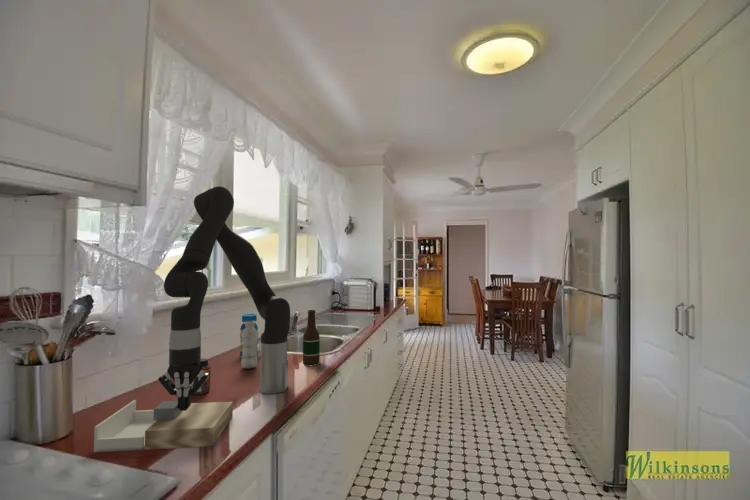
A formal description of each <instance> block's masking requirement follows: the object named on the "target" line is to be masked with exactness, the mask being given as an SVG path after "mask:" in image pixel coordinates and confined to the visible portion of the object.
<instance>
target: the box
mask: <svg viewBox="0 0 750 500" xmlns="http://www.w3.org/2000/svg"><path fill="white" fill-rule="evenodd" d="M153 420H154V409H146V410H143V409H140V410H137V399H133V400H132V401H131V402H129V403H127V404H126V405H124V406H123V407H122V408H120V409H119V410H117V411H115V413H112V414H111V415H110V416H109V417H107V418H106V419H104V420H102V421H101V422H100V423H98V424H97V425H95V426H94V435H93V437H94V438H93V440H94V441H93V453H104V452H106V453H108V452H121V451H124V452H125V451H142V450H145V431H146V430H147V429H148V428H149V427H150V426H151V425H152V424H154V423H155V422H156V421H153Z"/></svg>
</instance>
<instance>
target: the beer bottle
mask: <svg viewBox="0 0 750 500" xmlns="http://www.w3.org/2000/svg"><path fill="white" fill-rule="evenodd" d="M316 313H317V312H316V309H308V310H307V325H306V328H305V330H304V332H303V335H302V364H305V365H304V366H306V365H314V364H318V363H319V364H320V345H321V344H320V343H321V341H320V340H321V339H320V333H319V331H318V329H317V325H316ZM319 364H318V365H319Z"/></svg>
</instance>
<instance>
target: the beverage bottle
mask: <svg viewBox="0 0 750 500" xmlns="http://www.w3.org/2000/svg"><path fill="white" fill-rule="evenodd" d="M257 318H258V317H257V314H255V313H245V314H242V315H241V322H242V324H241V326H240V327H239V328H240V329H239V331H240V333H239V339H240V340H239V343H240V344H239V346H240V347H239V357H240V358H241V359H242V354H243V342H242V332H243V330H244V329H245V328H246V326H245V322H246V321H254V324H255V325H254V328H255V329H256V331H257V341H256V356H257V357H258V354H259V353H258V343H259V342H258V341H259V337H258V336H259V331H258V330H259V326H258V324H257V323H256V322H257V320H258V319H257Z"/></svg>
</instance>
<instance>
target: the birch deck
mask: <svg viewBox="0 0 750 500" xmlns="http://www.w3.org/2000/svg"><path fill="white" fill-rule="evenodd" d="M233 406H234V402H233V401H217V402H215V401H213V402H191V405H190V407H189V408H188V409H187V410H186V411H182V412H181V413H180V414H179V415H178V416H177V417H176V418H175V419H174V420H158V421H156V422H155V423H154V424H152V425H151V426H150V427H149V428H148V429H147V430H146V431H145V448H144V450H163V449H165V450H166V449H179V448H180V449H182V448H184V447H186V448H202V447H203V448H204V447H214V445H215V444H214V443H216V442H217V441H218V439H219V438H220V437H221V434H222V433H223V431H225V429H226V427H227V426H228V424H229V423H230V421H231V420H232V419H233V411H234V410H233ZM184 449H185V448H184Z"/></svg>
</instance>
